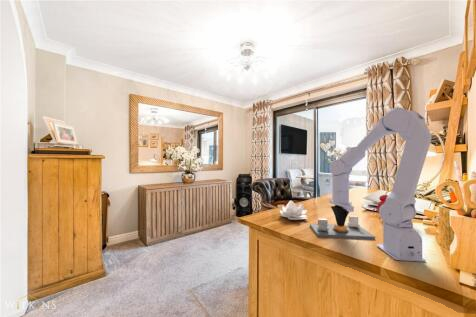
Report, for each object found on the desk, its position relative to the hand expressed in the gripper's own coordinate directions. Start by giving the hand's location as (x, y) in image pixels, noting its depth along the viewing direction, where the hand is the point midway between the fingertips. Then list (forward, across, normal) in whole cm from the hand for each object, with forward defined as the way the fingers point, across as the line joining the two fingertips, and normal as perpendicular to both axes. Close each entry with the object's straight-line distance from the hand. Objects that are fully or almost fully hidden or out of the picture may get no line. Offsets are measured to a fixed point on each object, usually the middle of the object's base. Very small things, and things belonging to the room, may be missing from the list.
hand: (340, 225), depth 76 cm
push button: (+3, 0, 0) cm, 3 cm away
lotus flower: (+3, +20, +13) cm, 24 cm away
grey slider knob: (+2, 0, +7) cm, 7 cm away
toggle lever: (+2, +4, -8) cm, 9 cm away
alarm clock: (+3, +15, -31) cm, 34 cm away
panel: (+3, +1, 0) cm, 3 cm away
